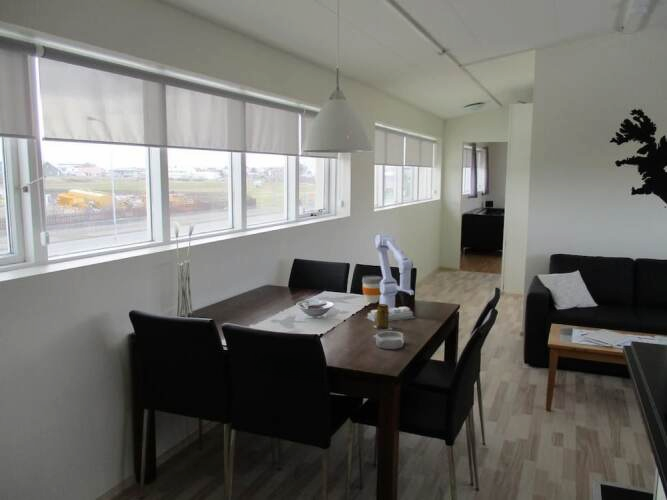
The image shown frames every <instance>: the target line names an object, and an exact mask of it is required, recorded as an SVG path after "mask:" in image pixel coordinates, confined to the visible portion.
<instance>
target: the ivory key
mask: <svg viewBox="0 0 667 500" xmlns="http://www.w3.org/2000/svg"><path fill="white" fill-rule="evenodd" d="M398 308H399V309H401V312H409V311H411V308H410V307H408V306H399V307H398Z"/></svg>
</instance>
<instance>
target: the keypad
mask: <svg viewBox="0 0 667 500" xmlns="http://www.w3.org/2000/svg"><path fill="white" fill-rule="evenodd" d="M389 312H390V311H389ZM364 318H365V319H366V320H368V321H371V322H372V323H374V324H377V316H374V315H372V314H371V312H367V316H364ZM416 318H417V317H416V316H414V312H413V311H412V310H410V311H409V312H400V313H394V314H393V313H391V314H389V318H388V319H389V320H388V322H394V321H395V322H396V321H403V320H411V319H416Z"/></svg>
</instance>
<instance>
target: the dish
mask: <svg viewBox="0 0 667 500" xmlns="http://www.w3.org/2000/svg"><path fill="white" fill-rule="evenodd" d="M372 338H373V341H375V345H376V346H377V347H378V348H381V349H384V350H385V349H386V350H396V349H400V348H402V347H403V346H404V343H405V335H404V333H403V332H399V331H394V330H384V331H380V332H378V333H376V334H375V335H374V334H373V336H372Z"/></svg>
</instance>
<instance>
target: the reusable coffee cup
mask: <svg viewBox="0 0 667 500" xmlns="http://www.w3.org/2000/svg"><path fill="white" fill-rule="evenodd" d="M382 279H383V276H379V275H364V276H362V279H361V283H362V286H361V287H362V294H363V299H364V302H365V301H366V302H365V303H367V302H371V303H370V304H377V302H378V303H380V295H381V294H382V293H381V292H380V282H381V280H382Z"/></svg>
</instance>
